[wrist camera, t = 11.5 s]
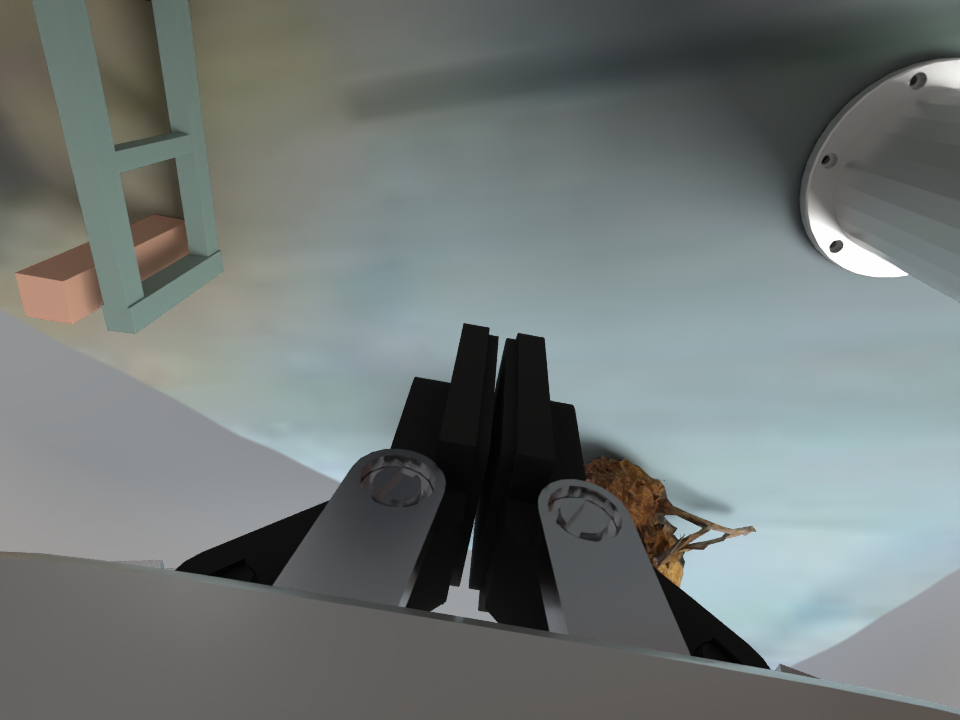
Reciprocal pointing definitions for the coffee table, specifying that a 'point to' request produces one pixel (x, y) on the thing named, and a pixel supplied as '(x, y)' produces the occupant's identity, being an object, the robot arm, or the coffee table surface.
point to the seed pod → (653, 514)
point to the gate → (132, 160)
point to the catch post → (72, 275)
